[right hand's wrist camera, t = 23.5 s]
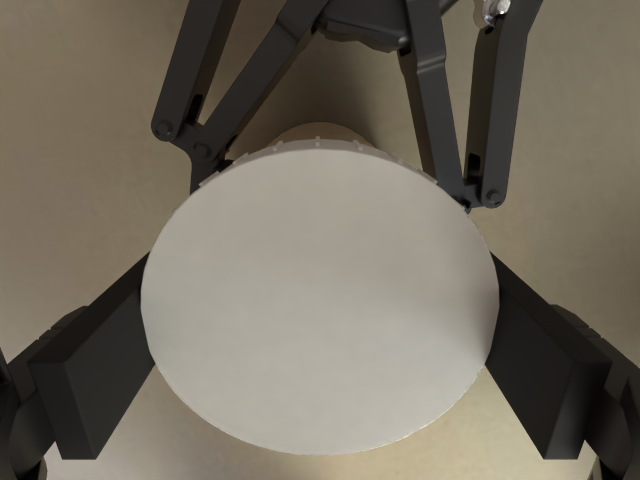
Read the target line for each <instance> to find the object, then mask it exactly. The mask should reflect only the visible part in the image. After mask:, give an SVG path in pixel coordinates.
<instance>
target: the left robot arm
mask: <svg viewBox="0 0 640 480" xmlns="http://www.w3.org/2000/svg"><path fill="white" fill-rule="evenodd" d="M240 1H241V0H190V1H189V4H188V7H187V10H186V13H185V17H184V20H183V23H182V26H181V29H180V33H179V36H178V39H177V42H176V45H175V48H174V52H173V55H172V58H171V61H170V64H169V68H168V71H167V74H166V77H165V80H164V83H163V87H162V90H161V93H160V96H159V99H158V103H157V106H156V109H155V112H154V115H153V118H152V122H151V129H152V132H153V134H154V135H155V137H156V138H158V139H159V140H161V141H165V142H167V141H169V142H170V143H172V144H174V145H175V146H177V147H179V148H181V149H182V150H184V151H185V152H186V153H187V154H188V155H189V157H190V159H191V162H192V172H191V185H190V195H191V194H192V193H193V192H195V191H196V190H198V189H199V188H200V186H199V184H200V183H201V182H202V181H204V180H205V179H207V178H208V177H210V176H211V175H212V174H214V173H215V172H217V171H218V172H219V173H221V172H222V171H223V170H225V169H226V168H227V167H229V166H230V165H232V164H233V162H234V161H233V160H229V159H226V160H225V154H226V153H227V152H229V151H230V150H229V148H230V147H231V146H232V144H233V143H234V142H235V140H236V139H237V137H238V136H239V135H240V133H241V132H242V131H243V129H244V128H245V127H246V125H247V124H248V123H249V121H250V120H251V119H252V117H253V116H254V114H255V113H256V112H257V110H258V109H259V108H260V106H261V105H262V104H263V102H264V101H265V100H266V98H267V97H268V96H269V94H270V93H271V91H272V90H273V89H274V87H275V86H276V85H277V83H278V82H279V81H280V79H281V78H282V77H283V75H284V74H285V73H286V71H287V70H288V68H289V67H290V66H291V64H292V63H293V62H294V60H295V59H296V58H297V56H298V55H299V54H300V52H301V51H302V50H303V49H304V48H305V47H306V46H307V45H308V43H309V42H310V41H311V39H312V38H313V37H314V35H315V34H316V33H317V31H319V32H321V33H322V34H324V35H325V38H327V39H331V40H335V41H340V42H345V41H360V42H361V43H363V44H365V45H367V46H368V47H370V48H372V49H374V50H378V51H382V52H387V53H390V52H391V51H396V50H397V55H398V60H399V65H400V69H401V72H402V74H403V75H404V78H405V83H406V88H407V93H408V98H409V103H410V108H411V113H412V118H413V123H414V128H415V133H416V138H417V143H418V148H419V153H420V158H421V163H422V168H423V172H425V173H426V174H428V175H429V176H431V177H432V178H434V179H435V180H436V181H438V182H437V183H436V185H437V186H439V187H440V188H441V189H443V190H444V191H445V192H446V193H447V194H448V195H449V196H450V197H451V198H453V199H454V200H455V201H457V202H458V203H459V204H461V205H462V206H463V207H464V208H465V209H464V211H465V212H466V213H467V215H468V214H469V213H470V211H471V209H472V208H476V207H483V206H485V207H487V208H491V209H492V208H497V207H498V206H500V205H501V204H502V203H503V202H504V200H505V197H506V192H507V184H508V177H509V170H510V162H511V155H512V147H513V140H514V132H515V125H516V118H517V110H518V103H519V95H520V88H521V80H522V73H523V66H524V58H525V51H526V43H527V36H528V33H529V31H530V28H531V26H532V24H533V22H534V19H535V17H536V15H537V13H538V11H539V8H540V6H541V4H542V2H543V0H474V5H475V8H474V15H473V18H474V22H475V24H476V26H477V27H478V28H480V31H479V34H478V38H477V42H476V46H475V54H474V63H473V74H472V86H471V97H470V108H469V120H468V131H467V142H466V153H465V165H464V176H462V170H461V164H460V158H459V152H458V146H457V139H456V133H455V127H454V121H453V115H452V109H451V102H450V96H449V90H448V84H447V78H446V72H445V59H446V46H445V40H444V33H443V27H442V21H441V16H443V15H444V14H445V13H446V12H447V11H448V10H449V9H450V8H451V7H452V6H453V5H454V4H455V3H456V2H457V1H458V0H288V1H287V2H286V4H285V5H284V7H283V8H282V10H281V11H280V13H279V15H278V17H277V19H276V22H275V24H274V25H273V27H272V29H271V30H270V31H269V33H268V34H267V36H266V37H265V39H264V40H263V41H262V43H261V44H260V46H259V47H258V49H257V50H256V51H255V53H254V54H253V56H252V57H251V59H250V60H249V61H248V63H247V64H246V66H245V67H244V69H243V70H242V71H241V73H240V74H239V76H238V77H237V79H236V80H235V82H234V83H233V84H232V86H231V87H230V89H229V90H228V92H227V93H226V94H225V96H224V97H223V99H222V100H221V102H220V103H219V104H218V106H217V107H216V109H215V110H214V112H213V113H212V114H211V116H210V117H209V119H208V120H207V122H206V123H205V124H204V126H203V125H201V124H200V123H198V122H197V121H198V119H199V116H200V113H201V110H202V107H203V105H204V102H205V99H206V96H207V94H208V91H209V88H210V85H211V82H212V80H213V77H214V74H215V71H216V68H217V66H218V63H219V60H220V57H221V54H222V52H223V49H224V46H225V43H226V41H227V38H228V35H229V32H230V29H231V27H232V24H233V21H234V18H235V15H236V13H237V10H238V7H239V4H240Z"/></svg>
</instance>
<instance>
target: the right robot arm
mask: <svg viewBox="0 0 640 480" xmlns="http://www.w3.org/2000/svg"><path fill="white" fill-rule="evenodd" d="M489 252H490V251H489ZM149 254H150V251H149V252H148V253H147V254H146V255H145V256H144V257H143V258H142V259H141V260H139V261H138V262H137V263H136V264H135V265H134V266H133V267H132V268H130V269H129V270H128V271H127V272H126V273H125V274H124V275H123V276H122V277H120V278H119V279H118V280H117V281H116V282H115V283H114V284H113V285H111V286H110V287H109V288H108V289H107V290H106V291H105V292H104V293H102V294H101V295H100V296H99V297H98V298H97V299H96V300H95V301H94V302H92V303H91V304H90V305H89V306H82V307H80V308H78V309H76V310H75V311H73V312H71V313H69V314H67V315H65V316H64V317H63V318H61V319H60V320H59V321H58V322H57V323H55V324H54V325H53V326H52V327H51V330H47V331H46V332H45V333H44V334H43V335H41V336H40V337H39V340H35V341H34V342H33V343H32V344H31V345H30V346H28V347H27V348H26V349H25V350H24V351H22V352H21V353H20V354H19V355H18V356H17V357H15V358H14V359H13V360H12V361H11V362H10V363H8V364H7V363H6V361H5V358H4V355H3V353H2V350H1V348H0V480H46V478H47V466H46V462H45V459H44V457H43V456H44V455H45V453H46V452H47V451H48V449H49V448H50V447H51V446H52V444H53V443H54V442H55V441H56V444H57V447H58V449H59V452H60V455H61V458H62V460H96V459H97V457H98V455H99V454H100V452H101V450H102V449H103V447H104V446H105V444H106V442H107V441H108V439H109V438H110V436H111V434H112V433H113V431H114V430H115V428H116V426H117V425H118V423H119V421H120V420H121V418H122V417H123V415H124V413H125V412H126V410H127V409H128V407H129V405H130V404H131V402H132V401H133V399H134V397H135V396H136V394H137V393H138V391H139V389H140V388H141V386H142V384H143V383H144V381H145V380H146V378H147V376H148V375H149V373H150V372H151V370H152V368H153V367H154V365H155V362H154V359H153V357H152V355H151V353H150V350H149V346H148V342H147V337H146V332H145V328H144V323H143V318H142V313H141V286H142V279H143V273H144V269H145V266H146V263H147V260H148V257H149ZM490 254H491V257H492V260H493V263H494V265H495V270H496V275H497V280H498V285H499V305H500V306H499V311H498V316H497V321H496V326H495V331H494V335H493V340H492V345H491V349H490V353H489V355H488V357H487V359H486V362H485V366H486V367H487V369H488V371H489V372H490V374H491V375H492V377H493V379H494V380H495V382H496V383H497V385H498V387H499V388H500V390H501V392H502V393H503V395H504V396H505V398H506V400H507V401H508V403H509V404H510V406H511V408H512V409H513V411H514V412H515V414H516V416H517V417H518V419H519V421H520V422H521V424H522V425H523V427H524V429H525V430H526V432H527V433H528V435H529V437H530V438H531V440H532V441H533V443H534V445H535V446H536V448H537V450H538V451H539V453H540V454H541V456H542V458H543V459H578V456H579V453H580V451H581V448H582V445H583V443H584V440H586V442H587V443H588V444H589V445H590V447H591V448H592V449H593V451H594V452H595V453H596V454H597V457H596V459H595V462H594V465H593V467H592V470H591V472H590V475H589V477H588V480H640V369H639V368H638V367H637V366H636V365H635V364H634V363H632V362H631V361H630V360H629V359H628V358H626V357H625V356H624V355H623V354H622V353H620V352H619V351H618V350H617V349H616V348H615V347H613V346H612V345H611V344H610V343H609V342H607V341H606V340H605V339H604V338H601V336H600V335H599V334H598V333H597V332H596V331H594V330H593V329H592V328H589V326H588V325H587V324H586V323H585V322H584V321H583V320H581V319H580V318H579V317H578V316H577V315H575V314H574V313H572V312H570V311H568V310H566V309H564V308H562V307H560V306H558V305H549V304H548V303H547V302H546V301H545V300H544V299H543V298H542V297H540V296H539V295H538V294H537V293H536V292H535V291H534V290H533V289H531V288H530V287H529V286H528V285H527V284H526V283H525V282H524V281H523V280H521V279H520V278H519V277H518V276H517V275H516V274H515V273H514V272H512V271H511V270H510V269H509V268H508V267H507V266H506V265H505V264H504V263H502V262H501V261H500V260H499V259H498V258H497V257H496V256H495V255H493V254H492V253H491V252H490Z"/></svg>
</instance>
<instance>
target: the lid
mask: <svg viewBox="0 0 640 480" xmlns="http://www.w3.org/2000/svg"><path fill="white" fill-rule="evenodd" d="M437 182H438V181H436V180H435V179H434V178H432V177H431V176H429V175H428V174H426V173H425V172H423V171H422V170H421V169H418V171H417V170H415V169H414V168H412V167H411V166H409V165H408V164H407V163H405V162H404V161H403V160H402V159H400V158H399V157H398V156H396V155H395V154H394V153H392V152H391V151H388V152H387V153H386V152H384V151H381V150H378V149H375V148H372V147H369V146H366V145H363V144H360V143H359V142H358V141H357V140H353V142H348V141H343V140H329V139H320V136H316V139H310V140H298V141H291V142H287V143H283V141H279V142H278V143H277V144H276V145H273V146H270V147H268V148H265V149H262V150H260V151H257V152H254V153H252V154H250V155H249V154H248V152H247V153H245V154H244V155H242V156H241V157H240V158H238V159H237V160H235V161H234V162H233V164H232V165H230V166H229V167H227V168H226V169H225V170H223V171H222V172H221V173H219V172H218V171H217V172H215V173H214V174H212V175H211V176H210V177H208V178H207V179H205V180H204V181H202V182H201V183H200V184H199V186H200V188H199V189H198V190H196V191H195V192H193V193H192V194H191V195H190V196H189V197H188V198H187V199H186V200H185V201H184V202H183V203H182V204H181V205H180V206H178V207H177V208H176V209H174V211H173V214H172V216H171V217H170V218H169V220H168V221H167V222H166V224H165V225H164V226H163V228H162V229H161V231H160V233H159V235H158V237H157V239H156V241H155V242H154V244H153V246H152V248H151V251H150V254H149V257H148V260H147V263H146V266H145V269H144V273H143V279H142V286H141V313H142V318H143V323H144V328H145V332H146V337H147V342H148V346H149V350H150V353H151V355H152V357H153V359H154V362H155V364H156V366H157V368H158V370H159V371H160V373H161V374H162V376H163V377H164V379H165V380H166V382H167V384H168V385H169V386H170V387H171V388H172V390H173V391H174V392H175V393H176V394H177V396H178V397H179V398H180V399H181V400H182V401H183V402H184V403H185V404H186V405H187V406H188V407H189V408H191V409H192V410H193V411H194V412H195V413H196V414H198V415H199V416H200V417H202V418H203V419H204V420H206V421H207V422H208V423H210V424H211V425H213V426H215V427H216V428H218V429H220V430H222V431H223V432H225V433H227V434H229V435H231V436H233V437H235V438H238V439H240V440H242V441H244V442H247V443H250V444H253V445H256V446H259V447H262V448H266V449H270V450H274V451H279V452H283V453H291V454H298V455H315V456H327V455H343V454H349V453H356V452H362V451H366V450H370V449H374V448H378V447H381V446H384V445H387V444H390V443H393V442H395V441H398V440H400V439H402V438H404V437H407V436H409V435H411V434H413V433H415V432H417V431H419V430H420V429H422V428H423V427H425V426H427V425H428V424H430V423H432V422H433V421H434V420H436V419H437V418H438V417H440V416H441V415H442V414H444V413H445V412H446V411H447V410H449V409H450V408H451V407H452V406H453V405H454V404H455V403H456V402H457V401H458V400H459V399H460V398H461V397H462V396H463V394H464V393H465V392H466V391H467V389H468V388H469V387H470V386H471V385H472V383H473V382H474V381H475V379H476V377H477V376H478V374H479V372H480V371H481V369H482V368H483V366H484V364H485V362H486V359H487V357H488V355H489V353H490V349H491V345H492V340H493V335H494V331H495V326H496V321H497V316H498V311H499V306H500V305H499V285H498V280H497V275H496V270H495V265H494V263H493V260H492V257H491V254H490V252H489V249H488V246H487V244H486V242H485V241H484V239H483V237H482V235H481V233H480V232H479V230H478V228H477V226H476V225H475V224H474V222H473V221H472V220H471V218H470V217H469V216H468V215H467V213H466V212H465V211H464V209H465V208H464V207H463V206H462V205H461V204H459V203H458V202H457V201H455V200H454V199H453V198H451V197H450V196H449V195H448V194H447V193H446V192H445V191H444V190H443V189H441V188H440V187H439V186H437V185H436V183H437Z"/></svg>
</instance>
